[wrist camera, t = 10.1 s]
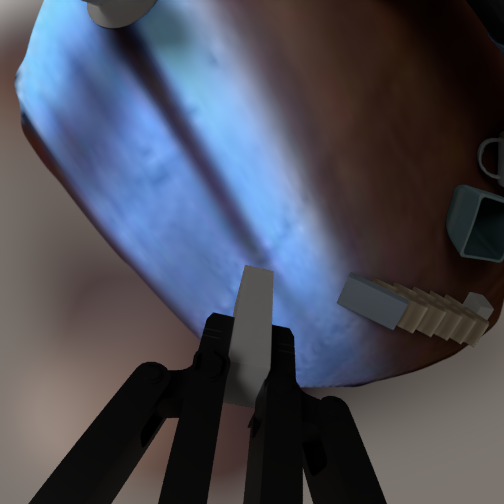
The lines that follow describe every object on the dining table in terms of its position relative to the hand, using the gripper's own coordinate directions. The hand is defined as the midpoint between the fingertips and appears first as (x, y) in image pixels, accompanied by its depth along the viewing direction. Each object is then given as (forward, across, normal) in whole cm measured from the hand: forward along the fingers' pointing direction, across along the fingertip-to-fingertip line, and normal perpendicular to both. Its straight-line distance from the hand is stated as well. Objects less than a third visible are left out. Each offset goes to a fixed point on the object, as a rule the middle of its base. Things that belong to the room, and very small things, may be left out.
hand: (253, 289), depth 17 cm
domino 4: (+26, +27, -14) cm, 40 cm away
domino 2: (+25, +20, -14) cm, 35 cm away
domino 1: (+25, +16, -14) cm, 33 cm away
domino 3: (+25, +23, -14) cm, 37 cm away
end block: (+26, +43, -14) cm, 52 cm away
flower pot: (+27, +30, +4) cm, 40 cm away
